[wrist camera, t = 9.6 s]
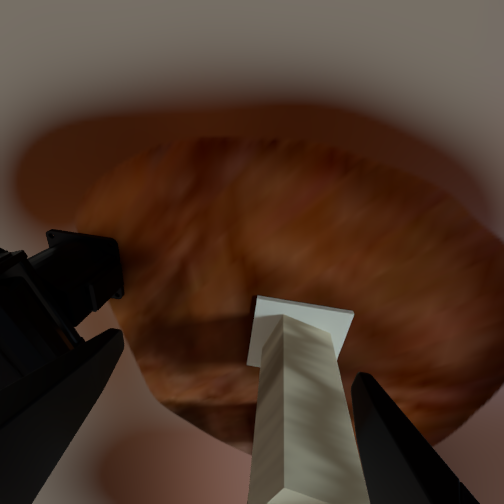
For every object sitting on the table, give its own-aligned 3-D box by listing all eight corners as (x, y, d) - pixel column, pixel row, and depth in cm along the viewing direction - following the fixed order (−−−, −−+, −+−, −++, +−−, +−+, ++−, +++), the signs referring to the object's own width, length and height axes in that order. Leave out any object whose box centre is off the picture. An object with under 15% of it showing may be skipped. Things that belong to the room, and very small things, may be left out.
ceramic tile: (247, 361, 28) (246, 364, 28) (257, 295, 24) (257, 298, 24) (328, 375, 28) (329, 379, 27) (352, 311, 24) (354, 314, 23)
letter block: (261, 349, 26) (244, 522, 15) (283, 314, 24) (284, 487, 12) (304, 366, 27) (321, 548, 15) (330, 333, 24) (373, 518, 13)
